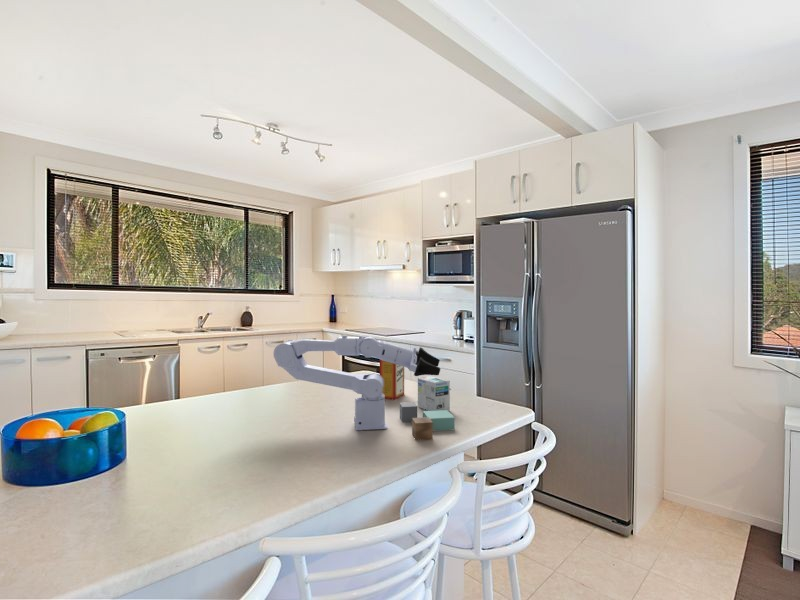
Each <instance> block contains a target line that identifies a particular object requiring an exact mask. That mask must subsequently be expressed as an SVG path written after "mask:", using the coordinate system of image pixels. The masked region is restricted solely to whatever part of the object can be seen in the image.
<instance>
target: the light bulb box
mask: <svg viewBox="0 0 800 600" xmlns="http://www.w3.org/2000/svg"><path fill="white" fill-rule="evenodd" d="M450 383H451V382H450V380H449V379H448V380H447V379H445V378H444V379H443V378H440V377H436V376H434V375H426V376H421V377H419V376H418V377H417V408H420V409H423V410H425V409H426V410H425V411H438V410H448V411H449V410H450V411H451V409H450V408H451V407H450V405H451V403H450V400H451V399H450V398H451V396H450V395H451V391H450V388H451V387H450ZM450 411H449V412H450Z"/></svg>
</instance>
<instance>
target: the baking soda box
mask: <svg viewBox="0 0 800 600" xmlns="http://www.w3.org/2000/svg"><path fill="white" fill-rule="evenodd" d="M379 375H381V376H382V378H383V380H384V386H383V391H382V393H383V394H384V395H385V400H392V399H393V400H392V401H395V399H396V400H397V399H398V398H400V396H401V397H402V396H404V395H405V367H403V366H400V365H397V364H393V363H390V362H386V361H383V360H380V359H379Z"/></svg>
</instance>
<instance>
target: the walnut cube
mask: <svg viewBox="0 0 800 600" xmlns="http://www.w3.org/2000/svg"><path fill="white" fill-rule="evenodd" d="M411 423H412V424H411V426H412V427H411V435H412V437H413V439H414V438H415V439H414V441H415V440H418V441H433V438H434V433H433V432H434V431H433V422H432V421H431V419H430V418H429V417H423V416H422V417H417V418H412V422H411Z"/></svg>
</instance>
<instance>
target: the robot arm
mask: <svg viewBox="0 0 800 600" xmlns="http://www.w3.org/2000/svg"><path fill="white" fill-rule="evenodd" d="M307 352H334V353H336V355H338V356H355V357H357V356H360V355H362V356H364V358H368V359H370V358H374V359H379V361H380V360H383V361H386V362H390V363H393V364H397V365H400V366H403V367H404V368H407V369H408V371H409V372H413V373H414V374H413V376H415V377H419V376H439V375H440V373H441V368H440V367H439V364H440V360H441V359H439V358H438V357H436V356H434V355H432V354H430V353H428V351H426V350H425V349H424V348H422V347H421V346H419V349H418V350H417V346H414V347H413V348H412V349H410V348H407V347H404V346H401V345H397V344H394V343H392V342H391V343H390V342H388V341H382V340H377V339H376V338H375V337H373V336H370V335H366V336H364V337H363V335H358V336H348V334H342V335H341V336H338V337H337V338H336V339H335V340H330V339H329V340H327V339H311V338H310V339H308V338H300V339H299V338H298V339H295V340H293V339H289V340H286V341H285V342H283V343H279V344H278V345H276V347H274V348H273V358H274V361H275V362H276V364H277V366H278V367H280V368H282V369H283V370H284V371H286V372H287V373H288V374H289V375H290V376H292V377H293V379H295V380H299V381H304V382H309V383H313V384H319V385H325V386H331V387H336V388H339V389H346V390H351V391H352V392H355V393H356V394H358V395H361V397H356V398H354V417H353V422H354V426H355V431H365V430H366V431H367V430H387V429H388V425H387V422H386V421H385V420H386V416H385V415H386V404H385V403H386V402H385V401H386V399H385V395H384V394H383V393H382V391H383V386H384V380H383V378H382V376H381V375H380V373H376V372H373V373H368V374H367V373H352V372H347V371H343V370H342V371H341V370H337V369H331V368H326V367H322V366H318V365H317V366H316V365H311V364H308V363H307V362H306V360H305V358H304V357H303V354H305V353H307Z"/></svg>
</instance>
